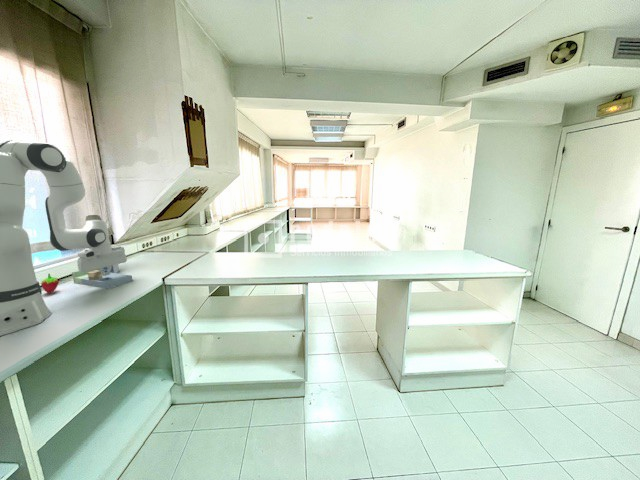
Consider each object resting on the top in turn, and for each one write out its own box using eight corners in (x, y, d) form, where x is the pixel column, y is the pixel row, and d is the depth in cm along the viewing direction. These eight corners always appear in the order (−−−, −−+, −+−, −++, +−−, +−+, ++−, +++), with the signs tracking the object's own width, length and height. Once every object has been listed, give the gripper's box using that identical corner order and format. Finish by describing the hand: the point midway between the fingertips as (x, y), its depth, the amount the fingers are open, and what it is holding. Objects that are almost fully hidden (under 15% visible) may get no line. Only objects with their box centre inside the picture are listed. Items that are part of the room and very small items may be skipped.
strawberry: (63, 288, 131) (59, 270, 129) (56, 294, 124) (51, 274, 122) (48, 290, 128) (44, 272, 126) (40, 296, 122) (35, 276, 120)
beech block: (95, 280, 134) (93, 273, 133) (88, 279, 135) (87, 272, 134) (102, 277, 138) (101, 270, 137) (96, 277, 139) (95, 270, 138)
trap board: (109, 288, 130) (107, 277, 129) (74, 282, 139) (71, 272, 138) (132, 280, 141) (130, 270, 140) (98, 275, 150) (96, 265, 149)
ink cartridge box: (108, 271, 157) (104, 249, 154) (119, 270, 160) (115, 248, 157) (103, 276, 148) (98, 252, 145) (114, 275, 151) (110, 251, 148)
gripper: (120, 244, 142) (125, 268, 145) (73, 254, 124) (79, 280, 127) (126, 246, 139) (131, 269, 142) (79, 255, 121) (85, 282, 125)
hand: (106, 275), depth 135 cm, fingers closed
